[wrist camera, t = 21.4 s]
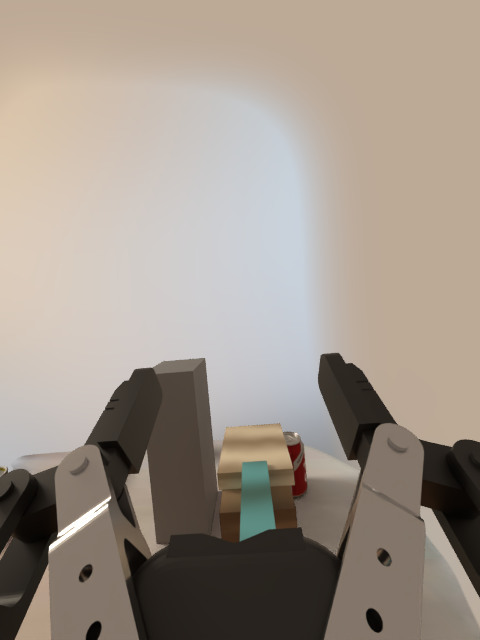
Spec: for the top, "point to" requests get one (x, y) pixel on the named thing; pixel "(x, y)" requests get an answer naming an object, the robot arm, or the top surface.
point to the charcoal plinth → (182, 452)
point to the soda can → (297, 462)
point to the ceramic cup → (3, 470)
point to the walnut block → (232, 511)
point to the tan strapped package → (255, 472)
